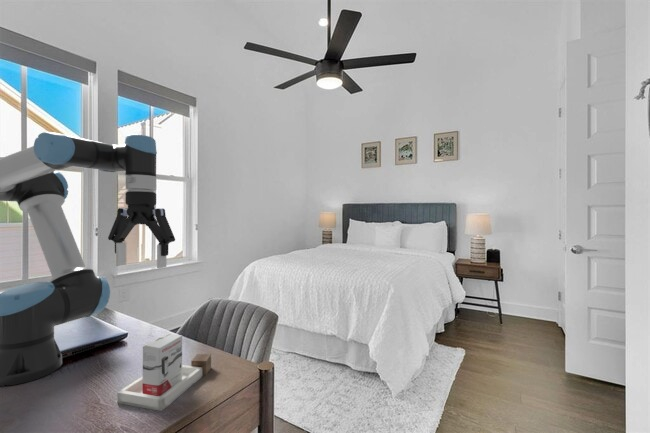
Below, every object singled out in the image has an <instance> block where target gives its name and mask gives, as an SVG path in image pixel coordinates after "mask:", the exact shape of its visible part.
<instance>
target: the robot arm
mask: <svg viewBox="0 0 650 433" xmlns="http://www.w3.org/2000/svg"><path fill="white" fill-rule="evenodd" d="M33 142H34V143H33V145H32V146H29V147H28V148H25V149H22V150H19V151H17V152H14V153H11V154H9V155H6V156H3V157H0V202H16V203H17V205H18V208H19V209H20V211H21V212H25V213H28V217H29V219H30V221H31V225H32V227H33V229H34V230H33V231H34V232H35V235H36V238H37V240H38V243H39V246H40V248H41V251H42V253H43V256H44V259H45V262H46V264H47V266H48V269H49V272H50V274H51V277H52V278H51V279H50V280H49V281H38V282H37V281H36V282H33V283H26V284H22V285H19V286H14V287H11V288H9V289H7V290H4V291H3V292H1V293H0V387H8V385H9V386H16V385H19V384H23V383H29V382H32V381H35V380H38V379H41V378H43V377H46V376H47V375H49V374H52V373H53V372H56V370H58V369H59V368H61V367H62V365H63V354H62V352H61V350H60V348H59V345H58V344H57V341H56V339H55V327H56V326H58V325H63V324H66V323H69V322H73V321H76V320H80V319H83V318H84V319H85V318H88V317H89V318H90V317H91V316H92V315H95V314H99V313H101V312H102V311H103V310H105V308H106V307H107V305H108V303H109V300H110V296H111V287H110V284H109V281H108V280H107V279H106V278H104V277H103V276H96V274H95V272H94V269H92V268H89V267H86V264H85V262H84V259H83V257H82V254H81V253H80V250H79V247H78V244H77V242H76V240H75V237H74V234H73V231H72V230H71V228H70V225H69V222H68V219H67V217H66V214H65V212H64V209H63V207H62V206H63V204H65V202H66V199H67V198H68V195H69V190H68V189H69V184H68V181H67V179H66V177H65V176H64V175H63V173H61V172H60V170H63V169H67V168H70V167H78V168H86V169H87V168H88V169H92V170H93V169H94V170H98V171H101V172H107V173H116V172H125V173H124V174H125V189H126V190H127V191H126V192H125V194H124V195H125V197H124V198H125V199H124V200H125V202H124V203H125V204H126V206H127V207H126V208H125V207H118V208H117V211H116V217H115V220H114V222H113V225H112V227H111V229H110V232H109V234H108V237H107V240H108V241H112V242H113V243H114V254H115V255H116V256H115V258H116V259H115V263H116V264H115V266H117V267H120V266H126V265H127V242H126V238H127V237H128V236H129V234H130V233H131V231H132V230H133V229H134V227H135V226H137V225H145V226H146V227H147V228H148V229H149V230H150V231H151V233H152V235H154V237H155V239H156V240H157V242H158V244H157V245H156V268H157V269H163V268H166V267H167V256H169V244H170V243H172V242H175V241H176V238H175V236H174V233H173V231H172V228H171V226H170V223H169V221H168V219H167V216H166V210H165V208H155V206H156V205H157V193H156V192H155V191H156V190H157V154H158V153H157V152H158V151H157V144H156V143H157V142H156V139H155V138H153V137H152V136H149V135H145V134H144V135H143V134H128V135H126V136H125V139H124V144H112V143H106V142H102V141H96V140H92V139H86V138H82V137H81V138H80V137H77V136H72V135H68V134H64V133H60V132H59V133H58V132H51V131H43V132H41V133H39V134H38V135H37V137H36V138H35V139H34V141H33ZM5 385H7V386H5Z"/></svg>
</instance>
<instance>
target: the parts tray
mask: <svg viewBox="0 0 650 433" xmlns="http://www.w3.org/2000/svg"><path fill="white" fill-rule="evenodd" d="M202 377H203V375H202V367H195V366H191V365H187V364H182V380H180V381H179V382H178V383H176V384H175V385H174V386H172V387H171V388H170V389H168V390H167V391H166V392H164V393H163V394H162V395H160V396H154V395H148V394H143V375H142V376H140V377H139V378H137V379H135V381H133V382H131V383H130V384H128V385H127V386H125V387H123V388H122V389H121V390H119V391H118V392H117V393H116V396H117V398H116V400H117V404H121V405H125V406H126V405H127V406H132V407H137V408H143V409H148V410H154V411H159V412H162V411H164V410H165V409H167V407H169V406H170V405H171V404H172V403H173V402H175V401H176V399H178V398H179V397H180V396H182V395H183V394H184V393H185V392H186V391H187V390H189V389H190V388H191V387H192V386H194V385H195V384H196V383H197V382H198V381H200V379H201V378H202Z"/></svg>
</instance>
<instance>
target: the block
mask: <svg viewBox="0 0 650 433" xmlns="http://www.w3.org/2000/svg"><path fill="white" fill-rule="evenodd" d="M190 364H191V365H190V366H195V367H202V376H207V375H208V373H209V372H210V370H211V369H212V354H211V353H206V354H205V353H204V354H203V353H197V354H196V355H195V356H194V357H193V358H192V360H191V363H190Z"/></svg>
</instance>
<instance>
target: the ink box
mask: <svg viewBox="0 0 650 433" xmlns="http://www.w3.org/2000/svg"><path fill="white" fill-rule="evenodd" d="M182 365H183V335H181V334H175V333H164V334H162V335H160V336H158V337H157V338H155V339H152V340H151V341H148V342H147V343H145V344H144V345H143V346H142V376H143V394H148V395H154V396H160V395H162V394H163V393H164V392H166V391H167V390H168V389H170V388H171V387H172V386H174V385H175V384H176V383H178V382H179V381H180V380H182Z"/></svg>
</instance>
